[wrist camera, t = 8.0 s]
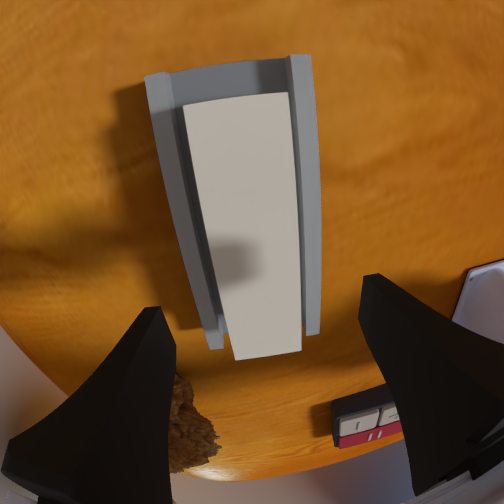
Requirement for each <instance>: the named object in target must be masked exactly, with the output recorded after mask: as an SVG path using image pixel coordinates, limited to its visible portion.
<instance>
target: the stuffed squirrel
mask: <svg viewBox="0 0 504 504" xmlns="http://www.w3.org/2000/svg"><path fill="white" fill-rule="evenodd" d="M193 397H194V394H193V390H192V387H191V385H190V383H189V381H187V380H186V379H183V378H181V377H179V376H178V375H177V374H176V373H175V381H174V388H173V395H172V402H171V410H170V418H169V429H168V452H169V472H170V473H177V472H179V473H180V472H184V469H183V468H187V469H188V468H190V467H194V466H200V465H203V464H205V463H209V460H208V457H211V456H214V455H215V456H216V454H217V451H219V450H217V449H220V448H222V446H220V445H217V444H216V443H214V440H215V439H218V438H220V436H216V435H215V433H216V432H215V431H213V430H214V428H213V427H214V425H212V424H211V421H210V420H207V418H204V417H203V416H201V415H200V413H198V411H197V410H196V408H195V407H194V406H193V404H192V402H193ZM172 500H173V499H172ZM173 504H176V502H175V501H174V500H173Z"/></svg>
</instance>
